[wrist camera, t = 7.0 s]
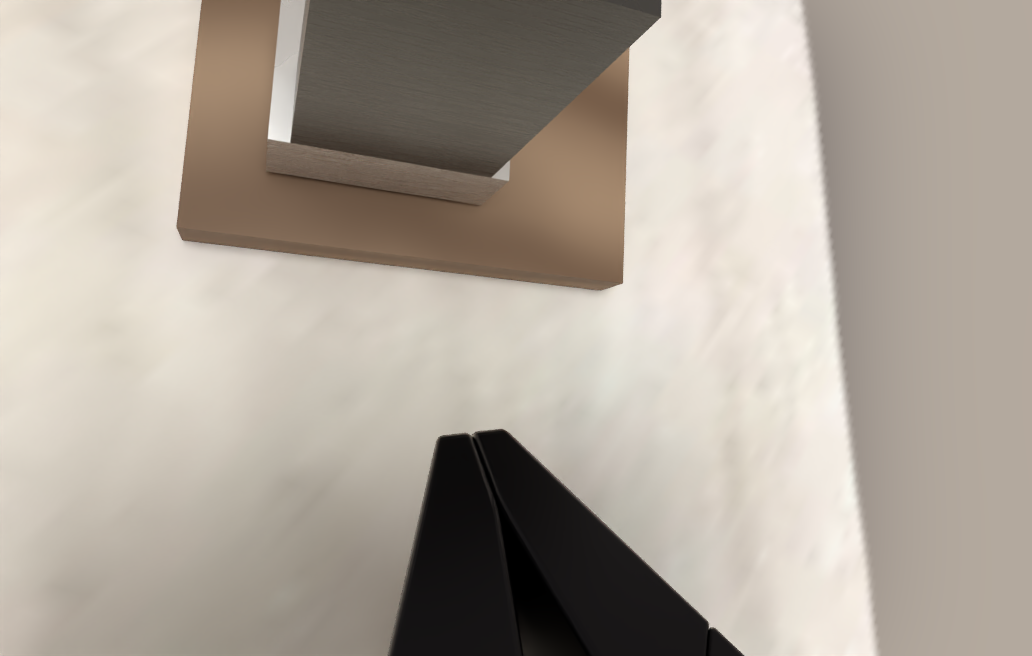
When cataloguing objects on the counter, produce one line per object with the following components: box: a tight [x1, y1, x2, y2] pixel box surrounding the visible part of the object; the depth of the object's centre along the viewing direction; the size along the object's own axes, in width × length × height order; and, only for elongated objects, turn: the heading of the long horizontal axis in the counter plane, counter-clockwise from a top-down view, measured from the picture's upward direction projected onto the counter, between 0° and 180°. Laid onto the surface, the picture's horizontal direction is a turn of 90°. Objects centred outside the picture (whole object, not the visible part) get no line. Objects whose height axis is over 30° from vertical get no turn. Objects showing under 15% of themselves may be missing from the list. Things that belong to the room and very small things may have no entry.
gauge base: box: [177, 0, 629, 290], centre depth 18 cm, size 13×13×8 cm
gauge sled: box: [266, 0, 661, 205], centre depth 15 cm, size 6×7×10 cm
